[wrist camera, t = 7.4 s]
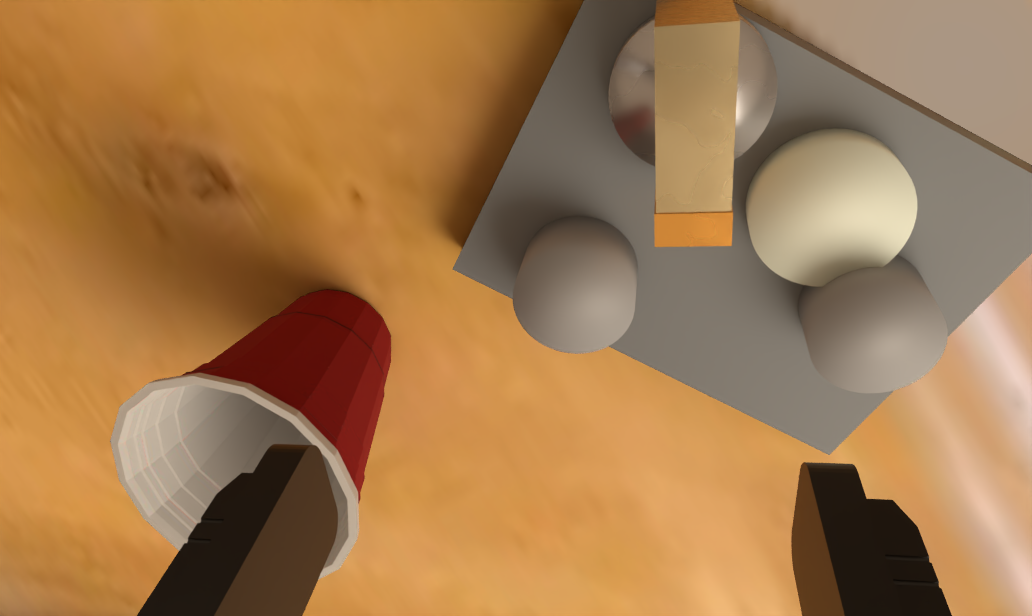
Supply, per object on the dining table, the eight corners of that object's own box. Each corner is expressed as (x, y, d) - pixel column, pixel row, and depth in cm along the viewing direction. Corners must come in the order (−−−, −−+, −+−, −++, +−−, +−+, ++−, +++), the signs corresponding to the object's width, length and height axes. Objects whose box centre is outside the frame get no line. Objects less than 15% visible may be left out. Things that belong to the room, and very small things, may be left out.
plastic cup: (299, 197, 37) (160, 335, 27) (477, 331, 39) (410, 504, 29) (206, 333, 42) (61, 490, 32) (367, 443, 45) (279, 622, 35)
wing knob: (606, -6, 28) (591, 31, 23) (781, -19, 27) (807, 16, 22) (613, 180, 31) (602, 247, 26) (767, 175, 30) (787, 245, 25)
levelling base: (462, 249, 37) (435, 303, 33) (615, -64, 29) (605, -45, 25) (822, 427, 39) (840, 500, 34) (1060, 181, 31) (1122, 237, 26)
